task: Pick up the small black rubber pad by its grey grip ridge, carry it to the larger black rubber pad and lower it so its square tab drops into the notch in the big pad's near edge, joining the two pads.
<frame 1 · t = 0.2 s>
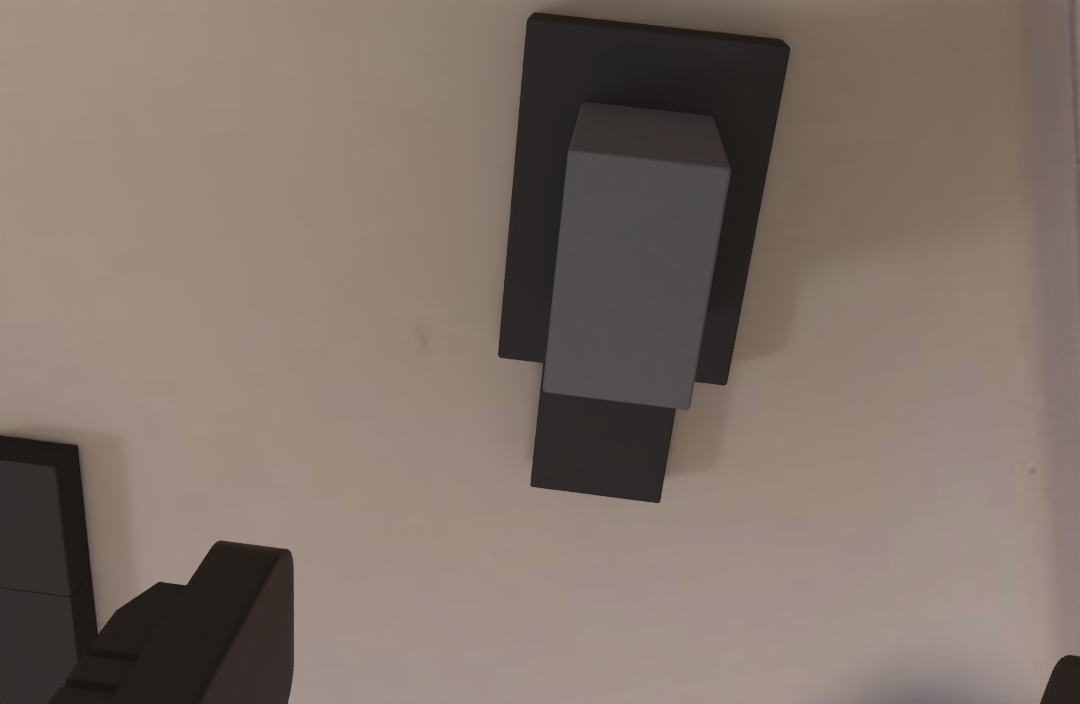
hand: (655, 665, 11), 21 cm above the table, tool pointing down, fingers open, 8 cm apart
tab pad: (633, 200, 30), on the table
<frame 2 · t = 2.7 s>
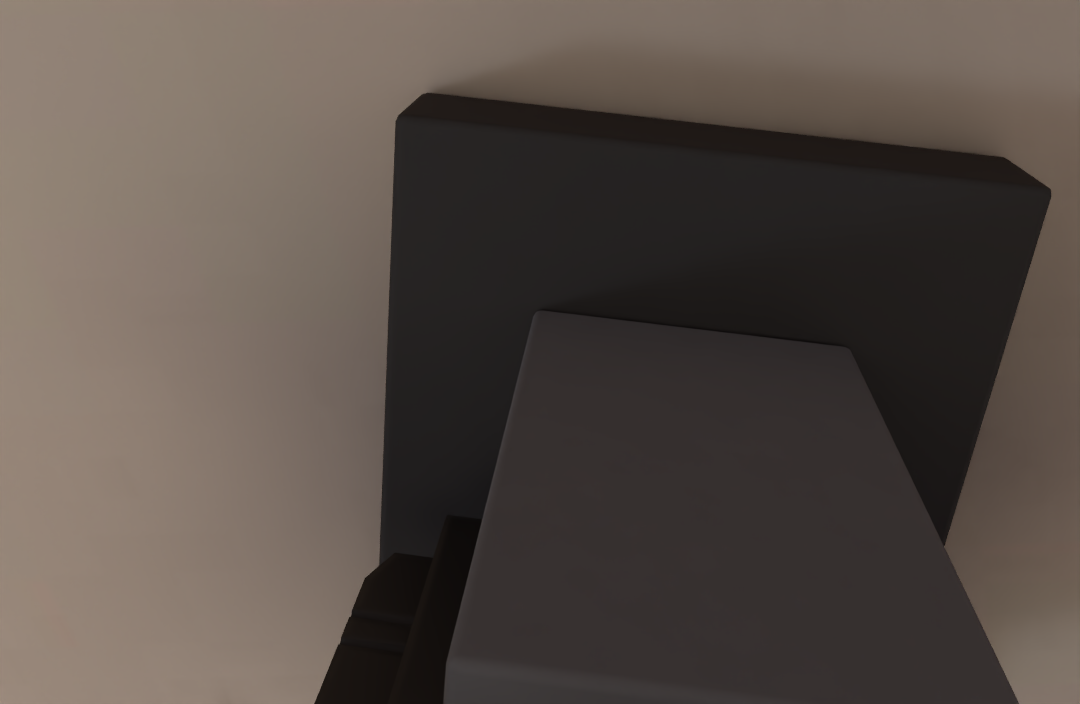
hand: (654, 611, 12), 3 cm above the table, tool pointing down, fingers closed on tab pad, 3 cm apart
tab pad: (653, 483, 14), on the table, touching gripper
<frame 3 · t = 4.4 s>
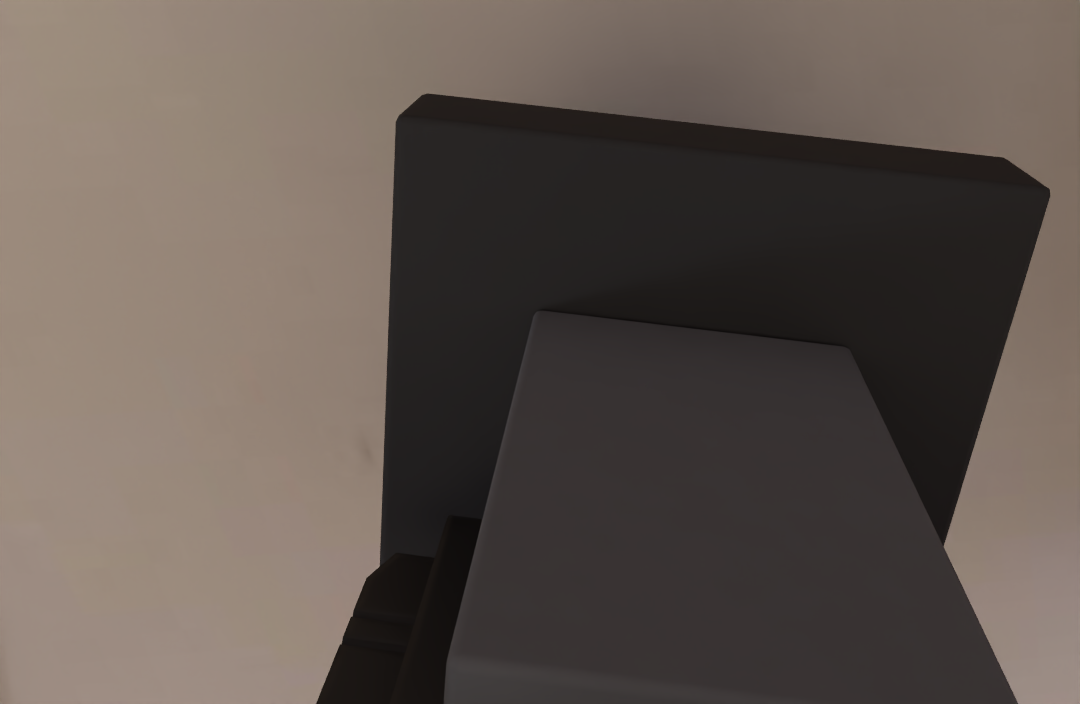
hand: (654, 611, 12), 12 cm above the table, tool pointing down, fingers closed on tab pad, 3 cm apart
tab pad: (653, 483, 14), point 9 cm above the table, touching gripper
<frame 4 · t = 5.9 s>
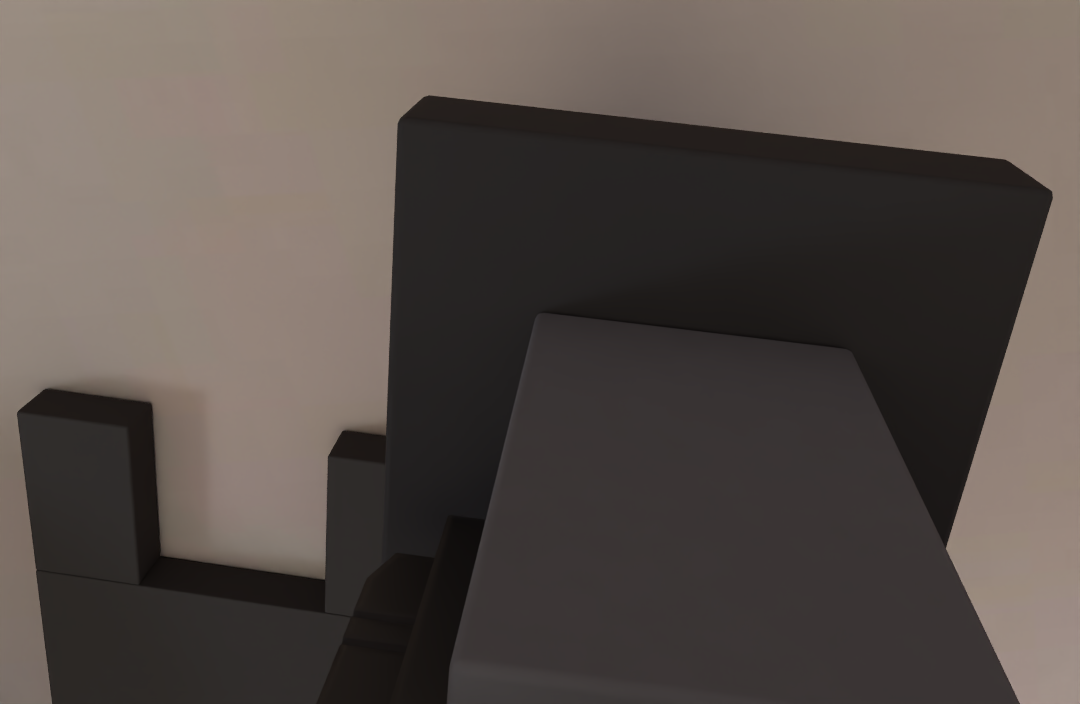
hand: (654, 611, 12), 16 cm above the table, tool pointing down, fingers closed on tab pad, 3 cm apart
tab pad: (655, 485, 14), point 13 cm above the table, touching gripper
notch pad: (249, 610, 32), on the table
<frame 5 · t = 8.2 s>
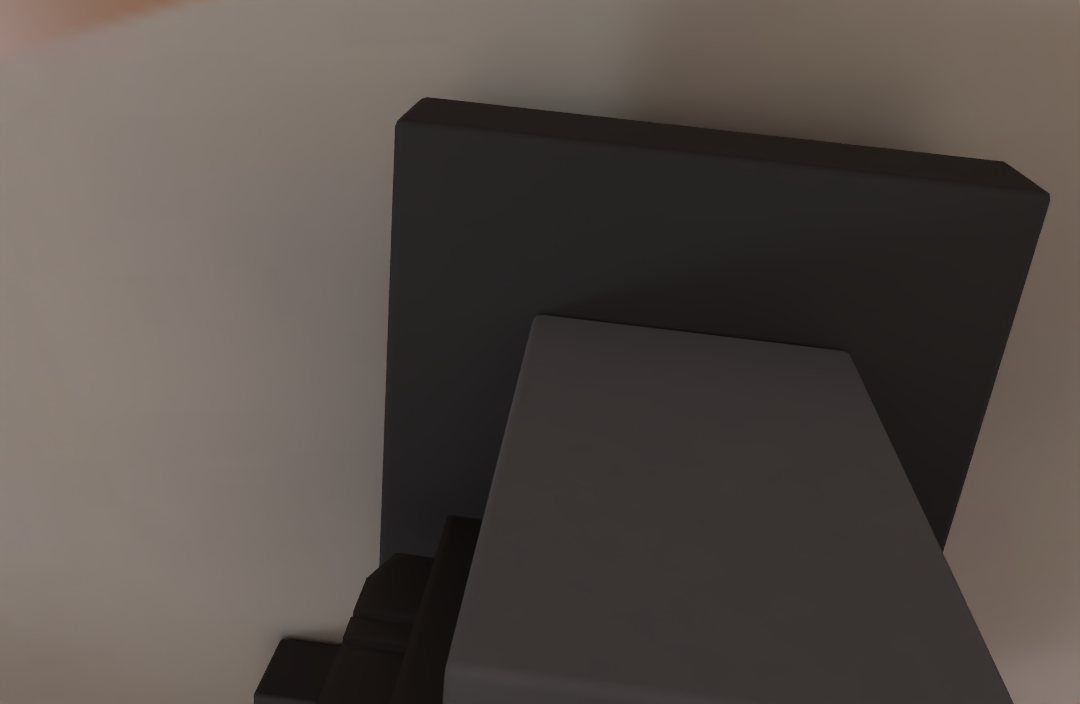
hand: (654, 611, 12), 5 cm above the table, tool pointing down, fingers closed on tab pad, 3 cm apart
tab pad: (653, 487, 14), point 2 cm above the table, touching gripper
when the fingers open (3 cm above the table, at t = 9.3 s): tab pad stays where it is, on the table.
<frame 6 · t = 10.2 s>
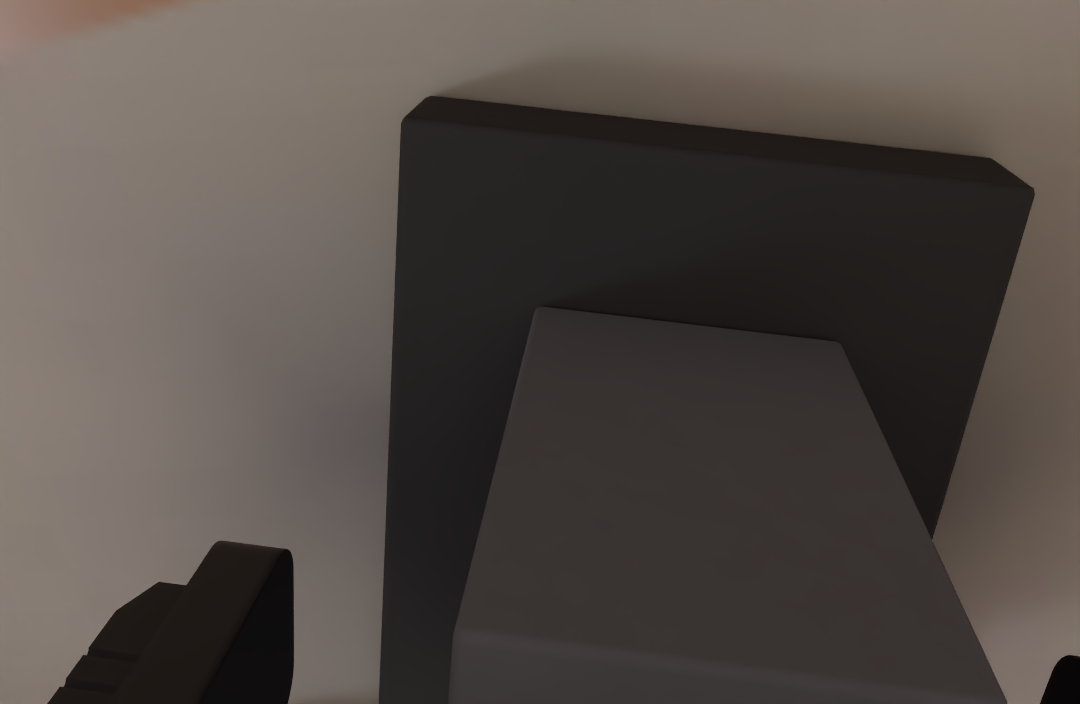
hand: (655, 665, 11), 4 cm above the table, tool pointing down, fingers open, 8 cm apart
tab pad: (651, 476, 15), on the table
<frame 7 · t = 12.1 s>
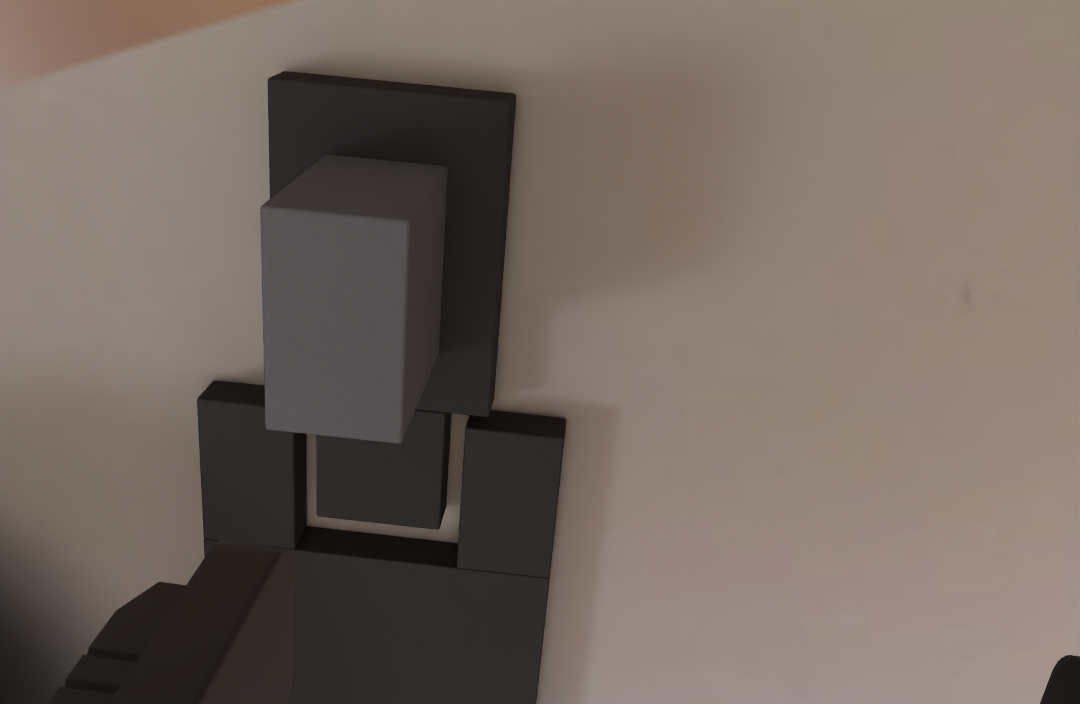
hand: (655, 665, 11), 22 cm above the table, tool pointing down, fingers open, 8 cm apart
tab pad: (394, 243, 32), on the table
notch pad: (383, 572, 37), on the table
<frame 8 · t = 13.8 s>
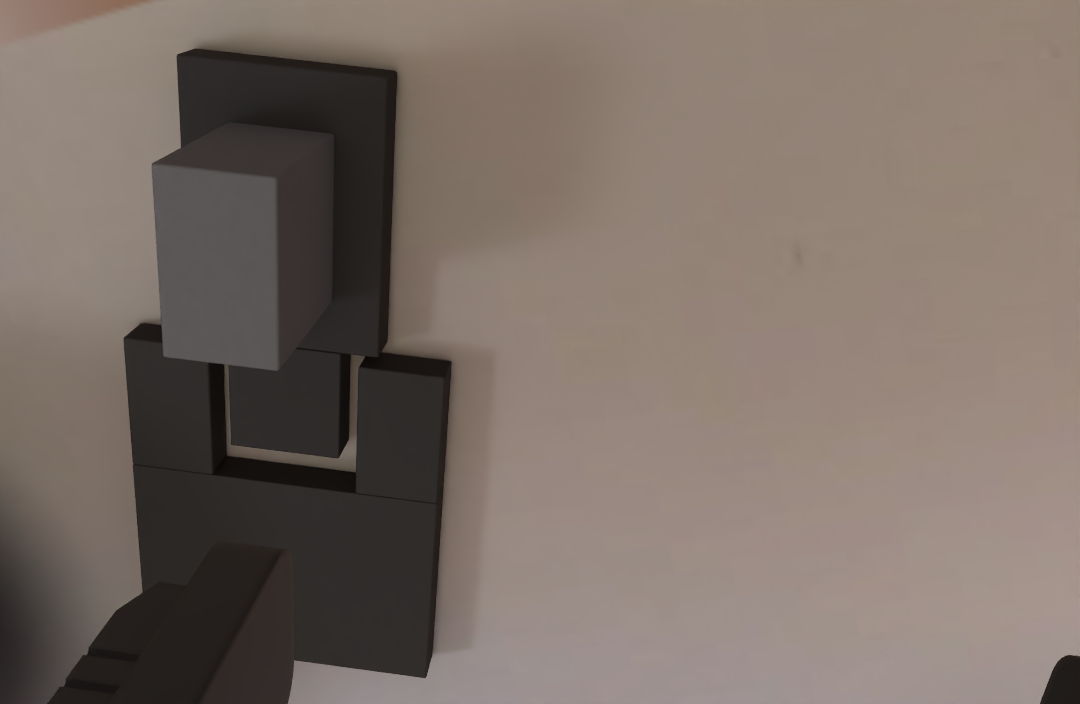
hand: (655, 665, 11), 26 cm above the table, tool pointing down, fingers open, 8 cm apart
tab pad: (295, 202, 37), on the table
notch pad: (295, 499, 42), on the table
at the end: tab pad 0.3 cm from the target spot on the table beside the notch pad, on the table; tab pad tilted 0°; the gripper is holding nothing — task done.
